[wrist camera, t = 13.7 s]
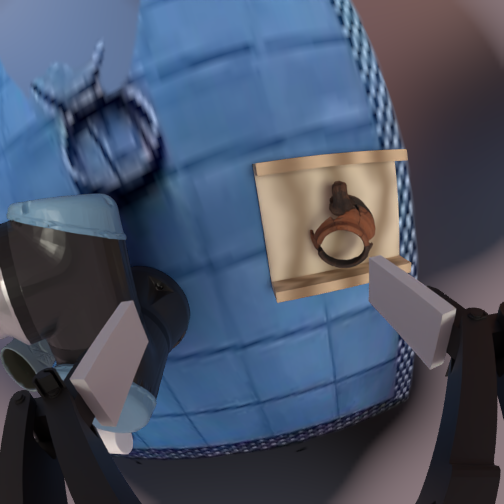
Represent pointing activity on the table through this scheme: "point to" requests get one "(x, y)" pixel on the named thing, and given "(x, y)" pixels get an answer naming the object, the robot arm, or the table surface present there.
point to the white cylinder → (116, 441)
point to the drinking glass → (26, 361)
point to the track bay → (317, 211)
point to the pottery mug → (345, 225)
